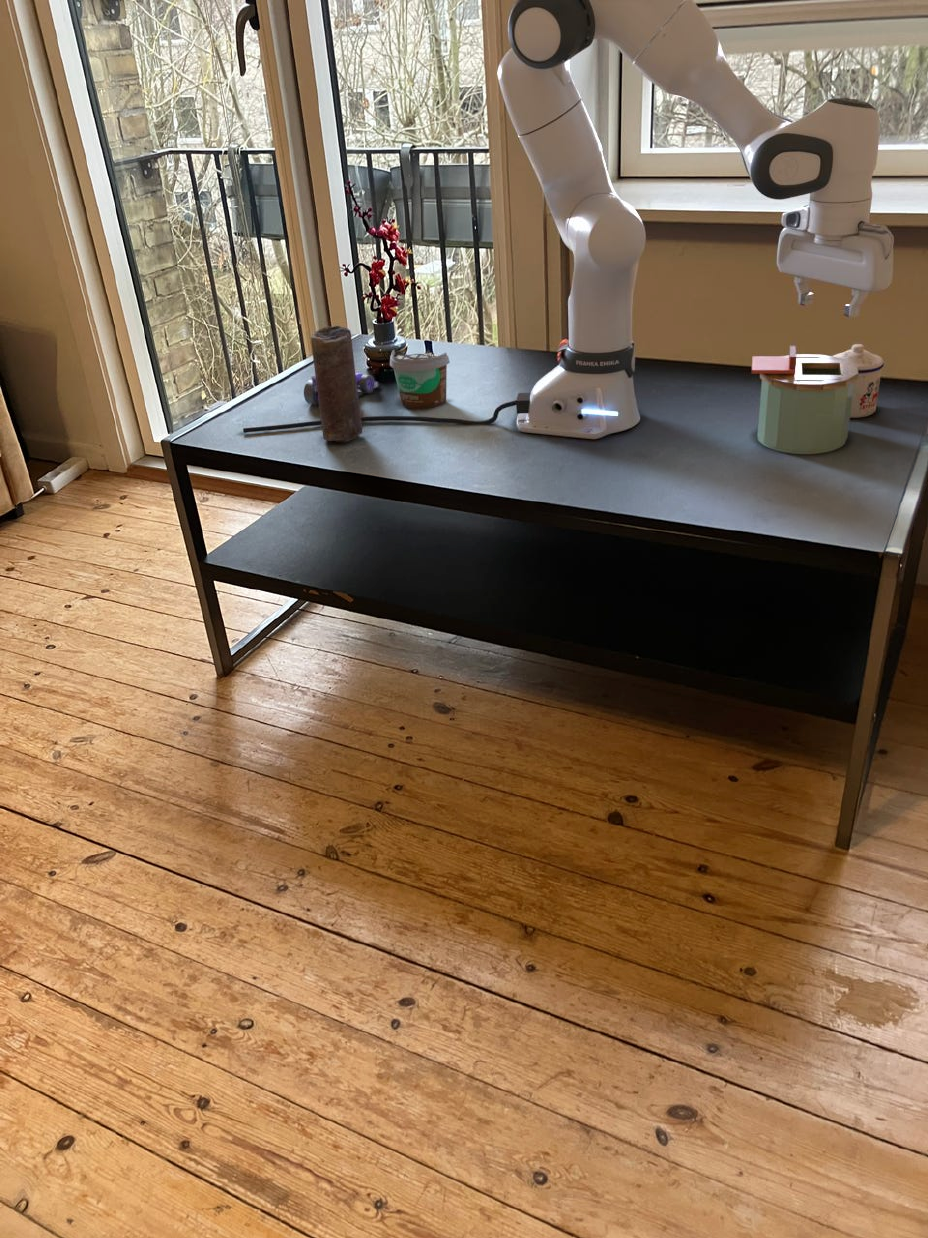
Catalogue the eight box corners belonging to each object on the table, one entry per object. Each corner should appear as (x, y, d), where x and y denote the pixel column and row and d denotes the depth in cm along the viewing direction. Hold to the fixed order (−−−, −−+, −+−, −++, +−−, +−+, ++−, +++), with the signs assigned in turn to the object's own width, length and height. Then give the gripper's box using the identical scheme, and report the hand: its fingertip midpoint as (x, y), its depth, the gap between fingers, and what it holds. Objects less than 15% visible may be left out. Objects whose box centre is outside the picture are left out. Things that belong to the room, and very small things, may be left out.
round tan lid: (759, 389, 161) (759, 383, 161) (760, 359, 173) (760, 353, 173) (860, 390, 157) (860, 384, 157) (854, 360, 169) (855, 354, 169)
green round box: (756, 453, 167) (761, 388, 161) (758, 421, 179) (762, 360, 173) (848, 455, 163) (857, 390, 158) (843, 422, 175) (851, 360, 169)
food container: (383, 408, 199) (377, 359, 194) (397, 398, 204) (391, 349, 199) (441, 412, 195) (436, 362, 189) (453, 401, 199) (448, 352, 194)
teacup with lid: (867, 422, 174) (877, 355, 168) (815, 414, 179) (822, 349, 173) (888, 399, 183) (897, 336, 176) (837, 393, 187) (845, 330, 181)
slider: (751, 373, 164) (752, 357, 163) (752, 359, 170) (753, 344, 168) (795, 373, 162) (796, 357, 161) (794, 359, 168) (796, 344, 167)
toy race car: (384, 387, 210) (380, 356, 207) (344, 412, 199) (339, 380, 196) (346, 383, 214) (342, 353, 211) (305, 407, 203) (300, 375, 200)
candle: (370, 432, 189) (356, 325, 178) (354, 447, 183) (339, 338, 172) (334, 430, 191) (318, 325, 181) (317, 445, 185) (299, 337, 175)
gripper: (909, 223, 145) (895, 319, 152) (803, 206, 161) (794, 295, 168) (879, 230, 143) (866, 327, 150) (773, 213, 158) (766, 302, 165)
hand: (827, 310), depth 159 cm, fingers open, 8 cm apart
